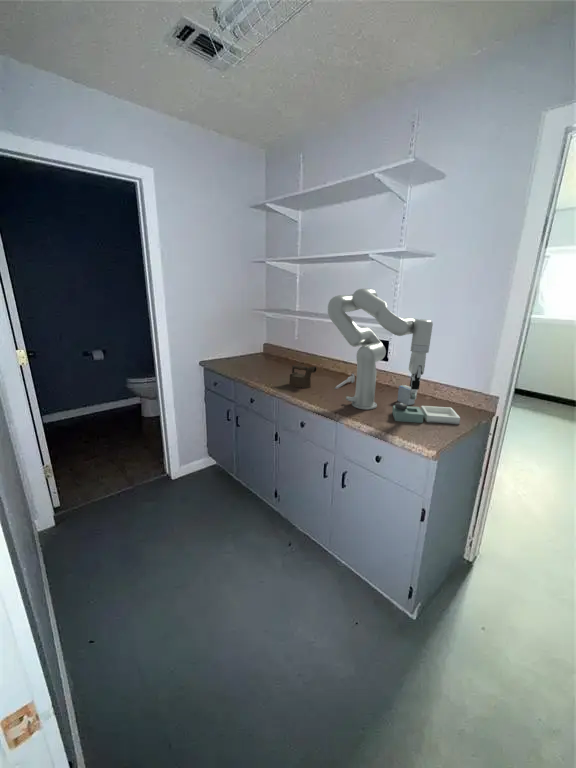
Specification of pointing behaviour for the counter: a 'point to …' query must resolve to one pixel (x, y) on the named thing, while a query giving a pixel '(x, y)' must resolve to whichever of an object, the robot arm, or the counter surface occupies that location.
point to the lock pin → (413, 392)
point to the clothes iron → (301, 377)
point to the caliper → (347, 381)
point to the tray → (440, 415)
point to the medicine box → (405, 395)
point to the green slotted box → (407, 413)
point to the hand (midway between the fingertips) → (414, 387)
